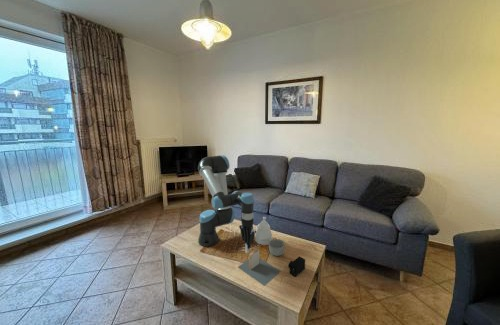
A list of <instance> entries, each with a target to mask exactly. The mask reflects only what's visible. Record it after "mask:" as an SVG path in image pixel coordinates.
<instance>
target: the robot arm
mask: <svg viewBox="0 0 500 325" xmlns="http://www.w3.org/2000/svg"><path fill="white" fill-rule="evenodd" d="M197 170H198V173H199V175H200V177H202V179H203V180H204V182H205V185H206V186H207V188H208V190H209V192H210V195H211V196H212V198H211V200H210V201H211V206H212V208H213V209H207V210H206V209H205V210H204V211H202V212H201V213H200V214H199V220H198V221H199V231H200V232H199V235H198V240H197V241H198V244H199V245H200V246H202V247H205V246H207V247H212V245H213V246H214V245H216V244H217V243H218V242H219V236H218V233H217V229H216V228H218V227H221V226H225V225H229V224H232V223H233V222H234V220H235V210H234V208H232V207H234V206H240V208H241V210H240V214H241V217H240V218H241V220H240V221H241V225H239V226H238V227H239V230H240V235H241V236H240V237H241V240H242V241H243V242H244V248H245V250H244V251H245V254H250V253H251V245H252V244H254V239H255V234H256V231H257V230H255V229H254V203H255V202H254V200H255V199H254V194H253V193H252V192H242V191H239V190H235V191H233V192H232V193H231V194H230V193H229V192H228V185H227V184H228V183H227V175H226V174H228V170H230V161H229V159H228V157H227V156H226V155H212V156H206V157H203V158H201V160H200V161H199V162H198V165H197Z"/></svg>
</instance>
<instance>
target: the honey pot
mask: <svg viewBox="0 0 500 325" xmlns="http://www.w3.org/2000/svg"><path fill="white" fill-rule="evenodd" d="M266 220H267V217H266V216H262V220H261V221H260V223H258V224H257V226H256V228H257V229H256V230H255V231H256V233H255V236H254V239H255V243H256V242H257V243H256V244H258V245H260V244H261V245H260V246H267V245H268V246H269V241H271V240H273V233H272V230H271V226H270V224H269V223H268V221H266Z"/></svg>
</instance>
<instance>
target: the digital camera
mask: <svg viewBox="0 0 500 325" xmlns="http://www.w3.org/2000/svg"><path fill="white" fill-rule="evenodd" d="M305 268H306V258H303V257H301V256H297V258H295V259H294V260H290V261H289V263H288V269H289V274H290V276H292V277H294V278H297V277H298V276H299V275H300V274H301V273H302V272H303V271H304V270H305Z"/></svg>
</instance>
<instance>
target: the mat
mask: <svg viewBox="0 0 500 325" xmlns="http://www.w3.org/2000/svg"><path fill="white" fill-rule="evenodd" d="M237 268H238V269H239V270H241V271H242V272H243V273H245V274H247V275H248V276H250V277H251V278H253V279H254V280H255V281H256V282H258V283H259V284H260V285H262V286H267V284H268V283H270V282H271V281H272V280H273V279H275V278H276V276H278V275H279V274H280V273H281V272H282V270H280V269H278V268H277V267H275V266H273V265H271V264H270V263H268V262H266V261H265V260H263V259H261V258H260V261H259V264H258V265H257V266H256V267H254V268H253V269H251V270H250V269H249V259H247V260H246V261H245V262H243V263H242V264H240V265H238V266H237Z"/></svg>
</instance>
